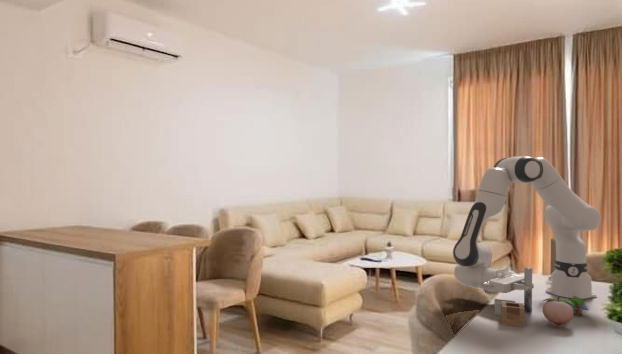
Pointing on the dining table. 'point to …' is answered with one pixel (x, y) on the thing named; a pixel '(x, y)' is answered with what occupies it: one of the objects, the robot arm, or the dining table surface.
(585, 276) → the robot arm
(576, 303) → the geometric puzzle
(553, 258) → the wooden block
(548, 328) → the dining table surface
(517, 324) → the brown cube-like block
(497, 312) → the block
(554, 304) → the decorative fruit
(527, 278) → the pin gauge
